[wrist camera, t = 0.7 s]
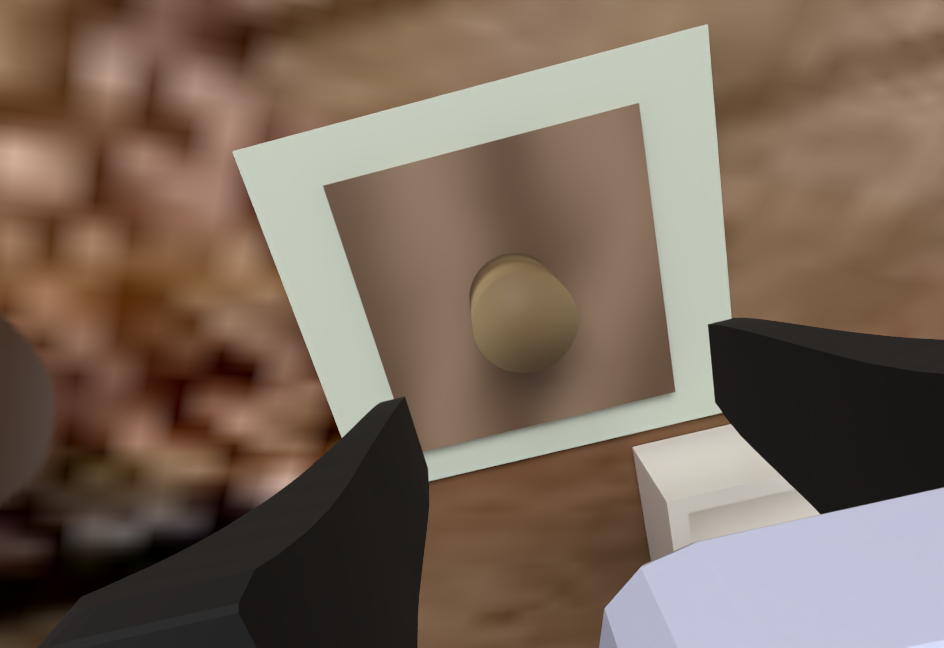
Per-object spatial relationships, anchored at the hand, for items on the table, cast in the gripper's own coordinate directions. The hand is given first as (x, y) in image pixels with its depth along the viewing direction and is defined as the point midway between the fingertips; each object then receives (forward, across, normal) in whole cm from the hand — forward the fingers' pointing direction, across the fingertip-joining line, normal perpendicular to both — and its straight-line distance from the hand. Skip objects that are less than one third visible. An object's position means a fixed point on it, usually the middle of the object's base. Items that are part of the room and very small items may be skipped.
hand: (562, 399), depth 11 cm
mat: (+10, 0, 0) cm, 10 cm away
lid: (+10, 0, 0) cm, 10 cm away
